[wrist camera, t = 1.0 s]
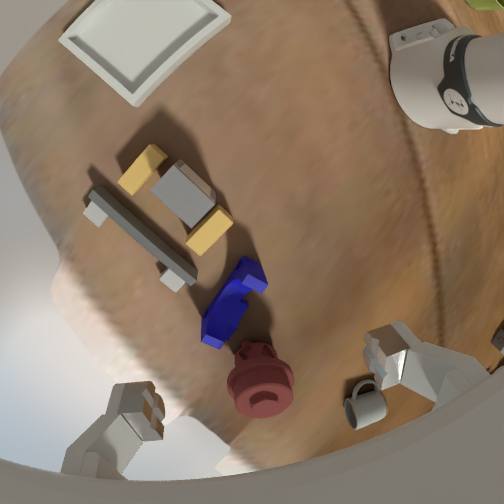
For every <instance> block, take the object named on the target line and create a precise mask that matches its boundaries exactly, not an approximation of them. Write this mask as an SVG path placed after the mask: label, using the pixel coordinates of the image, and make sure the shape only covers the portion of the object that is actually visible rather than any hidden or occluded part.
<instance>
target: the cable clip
mask: <svg viewBox="0 0 504 504" xmlns="http://www.w3.org/2000/svg"><path fill="white" fill-rule="evenodd" d="M267 286H268V283H267V280H266V277H265V274H264V271H263V268H262V265H260V264H258V263H257V262H255V261H253V260H251V259H249V258H248V257H246V256H244V255H243V257H242V258H241V260H240V261H239V263H238V264H237V266H236V267H235V269H234V270H233V272H232V273H231V275H230V276H229V278H228V279H227V281H226V282H225V284H224V285H223V287H222V288H221V290H220V291H219V293H218V294H217V296H216V297H215V299H214V300H213V302H212V303H211V305H210V306H209V308H208V309H207V311H206V312H205V314H204V315H203V317H202V323H201V342H203V343H205V344H208V345H210V346H212V347H215V348H217V349H221V347H222V346H223V345H224V343H225V339H226V340H229V338H230V337H231V336H232V334H233V333H234V332H235V330H236V329H237V327H238V324H239V322H240V320H241V317H242V315H243V314H244V312H245V310H246V309H247V307H248V301H246V300H244V299H242V298H243V297H244V296H245V295H246V294H247V293H248V292H249V291H251V290H255V291H257V292H259V293H261V294H262V293H263V291H264V290H265V288H266V287H267Z"/></svg>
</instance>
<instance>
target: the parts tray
mask: <svg viewBox="0 0 504 504" xmlns="http://www.w3.org/2000/svg"><path fill="white" fill-rule="evenodd" d="M230 21H231V15H230V14H229V13H227V12H226V11H225V10H224V9H222V8H221V7H220V6H219V5H217V4H216V3H215V2H213V1H212V0H95V1H94V2H93V3H92V4H91V5H90V6H89V7H88V8H87V9H86V10H85V11H84V12H83V13H82V14H81V15H80V16H79V17H78V18H77V19H76V20H75V22H74V23H73V24H72V25H71V26H70V27H69V28H68V29H67V30H66V31H65V33H64V34H63V35H62V36H61V37H60V38H59V40H58V41H59V42H61V43H62V44H63V45H64V46H65V47H66V48H68V49H69V50H70V51H71V52H72V53H73V54H75V55H76V56H77V57H78V58H79V59H80V60H81V61H83V62H84V63H85V64H86V65H87V66H88V67H90V68H91V69H92V70H93V71H94V72H95V73H96V74H97V75H99V76H100V77H101V78H102V79H103V80H104V81H105V82H107V83H108V84H109V85H110V86H111V87H112V88H113V89H114V90H116V91H117V92H118V93H119V94H120V95H121V96H122V97H123V98H124V99H126V100H127V101H128V102H129V103H130V104H131V105H132V106H135V107H139V106H140V105H141V104H142V103H143V102H144V101H145V100H146V99H147V97H148V96H149V95H150V94H151V93H152V92H153V91H154V90H155V89H156V88H157V87H158V86H159V85H160V84H161V83H162V82H163V81H164V80H165V79H166V78H167V77H168V76H169V75H170V74H171V73H172V72H174V71H175V70H176V69H177V68H178V67H179V66H180V65H181V64H182V63H183V62H184V61H185V60H187V59H188V58H189V57H190V56H191V55H192V54H193V53H194V52H196V51H197V50H198V49H199V48H200V47H201V46H203V45H204V44H205V43H206V42H207V41H209V40H210V39H211V38H212V37H213V36H215V35H216V34H217V33H218V32H220V31H221V30H222V29H224V28H225V27H226V26H227V25H229V24H230Z"/></svg>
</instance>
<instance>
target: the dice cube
mask: <svg viewBox="0 0 504 504" xmlns="http://www.w3.org/2000/svg"><path fill="white" fill-rule="evenodd" d="M491 343H492V344H493V345H494V346H495V347H496V348H497V349H498V350H499V351H500V352H501V353H502V354H503V355H504V331H503V330H502V329H500V330H499V332H498V333H497V334H496V336H495V337H494V338H493V340H492V341H491Z"/></svg>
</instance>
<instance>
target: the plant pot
mask: <svg viewBox="0 0 504 504" xmlns="http://www.w3.org/2000/svg"><path fill="white" fill-rule="evenodd" d="M465 1H466V2H467V4H468V5H469V6H470V7H471V8H473V9H476V10H495V9H500V10H504V0H465Z"/></svg>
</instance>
